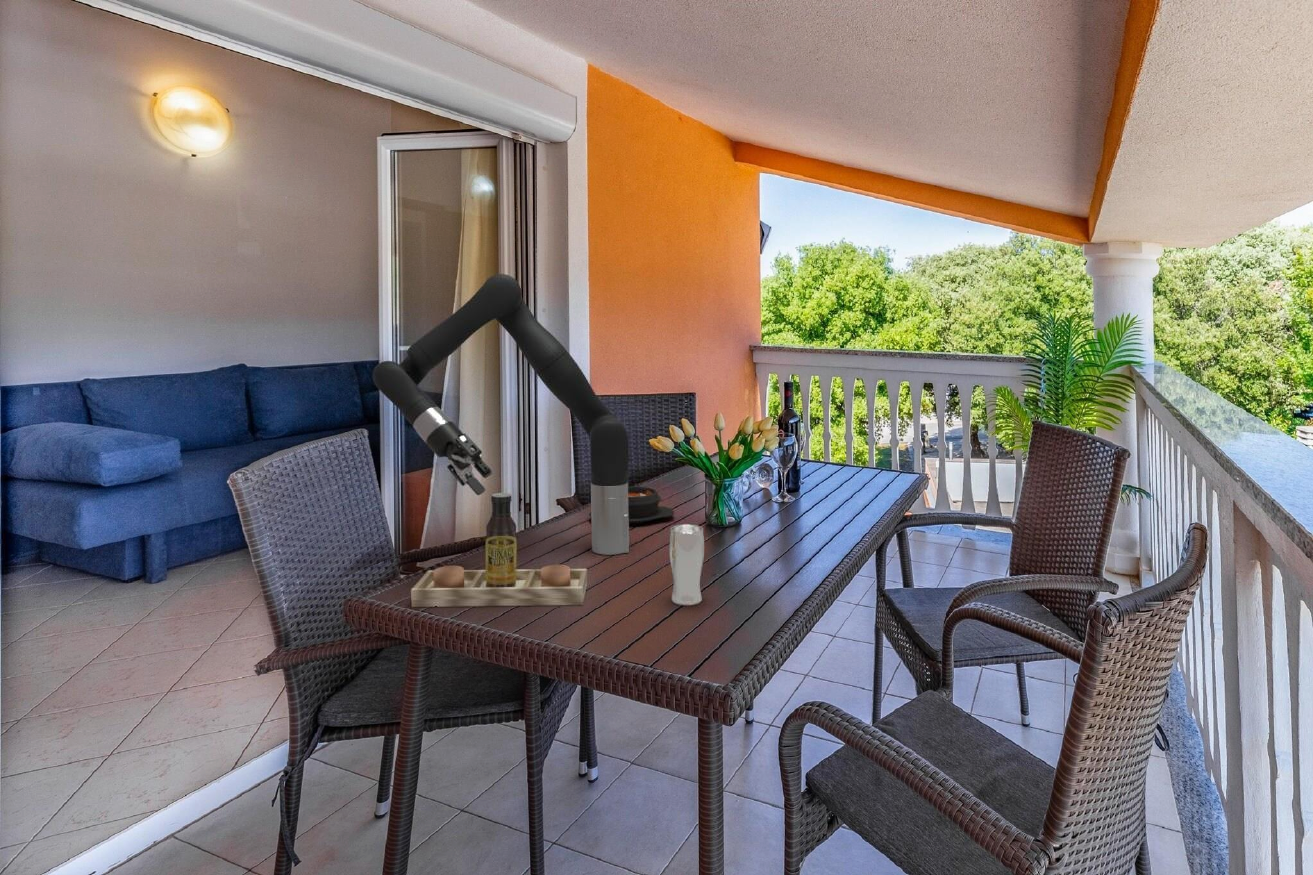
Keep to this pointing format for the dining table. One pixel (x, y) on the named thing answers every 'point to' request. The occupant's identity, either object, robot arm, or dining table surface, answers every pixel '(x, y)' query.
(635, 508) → the casserole
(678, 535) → the beer glass
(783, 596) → the dining table surface
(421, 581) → the rail
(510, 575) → the sauce bottle
